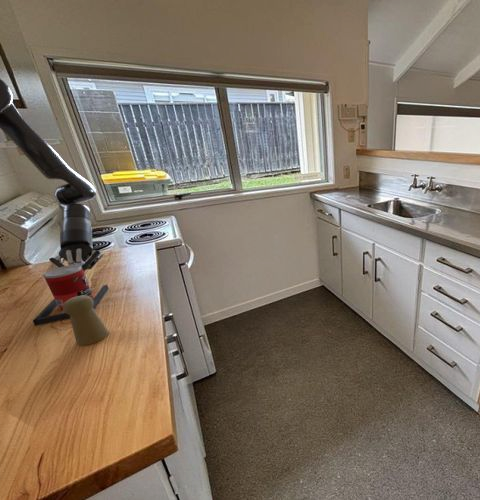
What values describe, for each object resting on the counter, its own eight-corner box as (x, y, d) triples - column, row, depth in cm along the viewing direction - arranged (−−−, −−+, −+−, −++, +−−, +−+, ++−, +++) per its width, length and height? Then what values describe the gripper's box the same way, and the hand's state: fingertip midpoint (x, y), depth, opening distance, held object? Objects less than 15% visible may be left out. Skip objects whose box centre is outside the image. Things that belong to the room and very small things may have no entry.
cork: (85, 348, 65) (67, 307, 61) (70, 342, 67) (51, 303, 63) (114, 332, 70) (98, 294, 66) (99, 327, 72) (83, 290, 68)
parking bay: (34, 325, 74) (32, 320, 74) (61, 297, 88) (59, 293, 87) (92, 313, 79) (90, 308, 78) (108, 288, 93) (107, 284, 92)
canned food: (89, 306, 83) (75, 272, 79) (54, 313, 79) (37, 278, 75) (98, 294, 89) (85, 262, 85) (65, 300, 86) (50, 268, 82)
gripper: (42, 231, 86) (40, 284, 80) (96, 224, 91) (98, 273, 86) (57, 242, 93) (56, 291, 87) (106, 235, 98) (109, 281, 92)
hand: (77, 282), depth 86 cm, fingers closed
